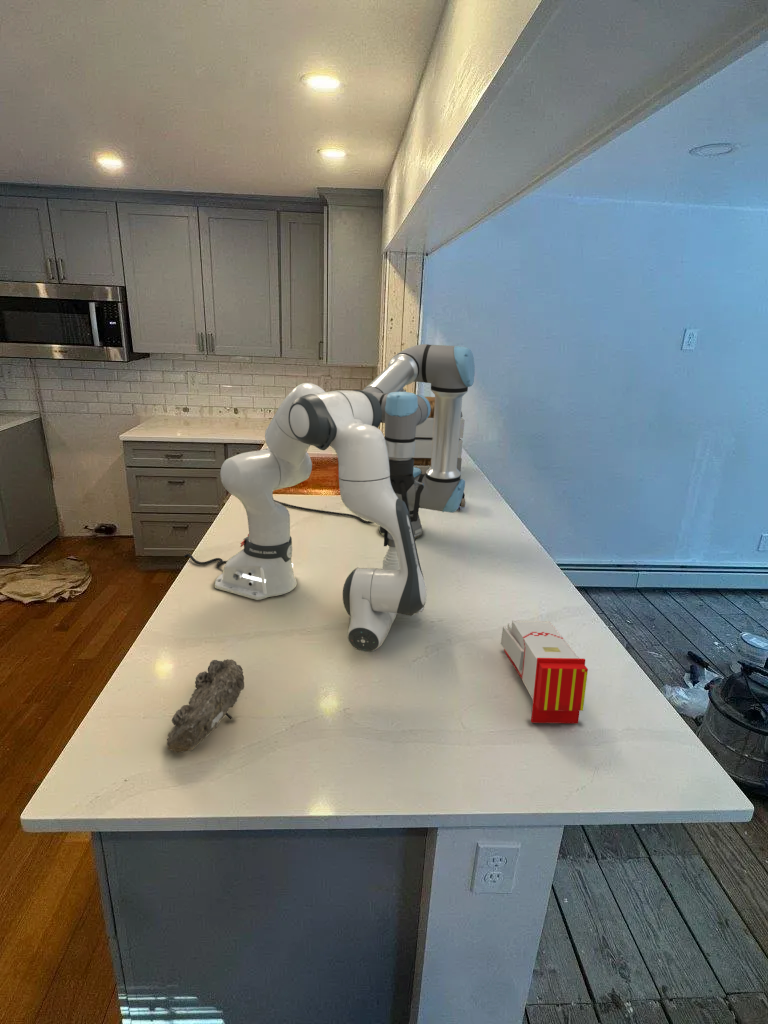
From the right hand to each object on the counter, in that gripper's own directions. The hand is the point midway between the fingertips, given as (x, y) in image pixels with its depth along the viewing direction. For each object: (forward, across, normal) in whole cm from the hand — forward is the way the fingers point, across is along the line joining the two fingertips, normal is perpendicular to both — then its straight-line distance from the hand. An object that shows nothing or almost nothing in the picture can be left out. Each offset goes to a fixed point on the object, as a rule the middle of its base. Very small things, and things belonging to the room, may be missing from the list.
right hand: (394, 544), depth 147 cm
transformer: (+17, -6, -131) cm, 132 cm away
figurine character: (+17, -21, -84) cm, 88 cm away
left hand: (+11, 0, -1) cm, 11 cm away
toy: (+17, -33, +29) cm, 47 cm away
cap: (-2, 0, 0) cm, 2 cm away
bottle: (+17, 0, 0) cm, 17 cm away
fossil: (+17, +31, +49) cm, 61 cm away
